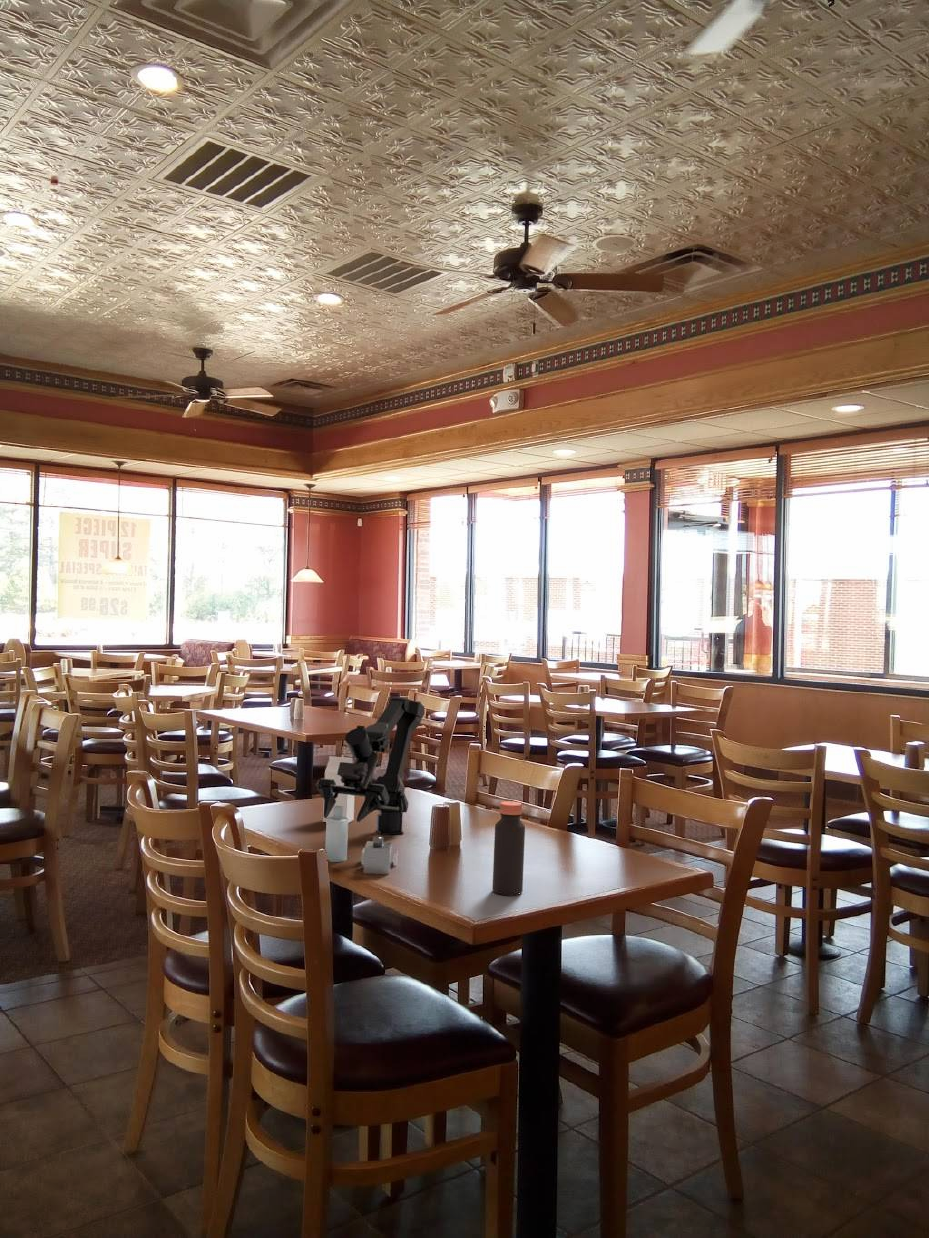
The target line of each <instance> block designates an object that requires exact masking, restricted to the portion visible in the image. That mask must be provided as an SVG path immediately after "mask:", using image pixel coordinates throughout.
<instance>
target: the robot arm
mask: <svg viewBox="0 0 929 1238" xmlns="http://www.w3.org/2000/svg"><path fill="white" fill-rule="evenodd" d="M425 712H426V711H425V706H424V705H423V704H422V702H421V701H417V700H410V698H406V697H401V696H392V697H390V698H389V700H388V704H387V706H386V707H385V708H384V710H383V712H382V713H381V715H380V716H379V717H378V719H377V721H376V722H375V723H373V724H370V725H367V726H366V727H365V725H357V726H356V728H353V729H351V730H349V732H347V733H346V734H345V736H344V737H345V738H344V740H345V743H346V746H347V747H348V750H349V753H350V755H351V756H352V758H354V761H353V763H345V762H340V764H339V768H338V772H337V775H340V776H341V777H342V778H341V782H342V783H344V786H341V785H336V783H335V781H334V780H333V779H325V777H323V778H322V777H321V778H320V779H318V781H317V783H316V784H315V787H316V789H317V791H318V792H319V795H320V796H321V798H322V799H323V805H324V818H327V816H328V815H329V813H330V812H331V810H332V808H333V806H334V805H335V803H336V800H335V799H336V798H337V796H338V793H340V794H348V795H352V796H355V797H362V798H364V799H363V803H362V805H361V808H360V809H359V811H358V814H357V817H356V821H357V823H360V822H361V821H362V820H364V819H365V818H366V817H367V816H368V815H370V814H371V813H373V812H374V811H378V814H376V822H375V829H376V831H377V832H378V833H379V834H380V835H404V831H403V814H404V813H407V812H408V809H409V800H408V797H407V796H406V794H405V790H406V788H405V785H404V781H403V779H402V778H403V772H404V769H405V765H406V762H407V757H408V752H409V750H410V745H411V741H412V737H413V736H412V735H413V732H415V730H417V728H419V726H420V725H421V723H422V719H423V718H424V716H425ZM395 727H396V728H395ZM394 729H396V730H395V732H394V736H393V737H394V738H393V741H392V745H391V737H390V735H391V733H392V731H393V730H394ZM390 745H391V749H390V753H389V757H388V761H387V766H386V769H385V773H384V774H383V775H382V776H378V777H377V778H376V782H375V783H372V782H373V779H372V775H373V773H374V771H375V769H376V768H378V767H380V762H379V761H380V760H379V756H378V754H377V753H385V752H386V751H387V750H388V749H389V747H390ZM367 787H368V788H367Z"/></svg>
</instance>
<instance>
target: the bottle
mask: <svg viewBox="0 0 929 1238" xmlns="http://www.w3.org/2000/svg"><path fill="white" fill-rule="evenodd" d="M522 808H523V804H522V803H521V802H518V801H511V800H510V801H509V800H508V801H505V800H504V801H501V802H500V803H499V816H500V819H499V820H498V821H497V822H496V823H495V825H494V846H493V863H492V864H493V868H492V870H493V871H492V872H493V873H492V888H491V889H492V892H493V893H494V892H495V893H494V894H496V893H497V895H499V894H500V895H499V896H505V895H515V894H519V893H521V892H522V893H523V888H524V887H523V884H524V883H523V882H524V866H525V865H524V863H525V862H524V861H525V859H524V858H525V841H526V840H525V836H526V826H525V824H524V823H523V822H522V821H521V817H522V813H523V812H522ZM522 893H521V894H522ZM519 895H520V894H519ZM515 896H516V895H515Z"/></svg>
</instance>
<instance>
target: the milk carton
mask: <svg viewBox="0 0 929 1238" xmlns="http://www.w3.org/2000/svg"><path fill="white" fill-rule="evenodd" d="M328 758H329V759H328V762H327V765H326V767H325V771H324V779H333V780H334V781H335V783H336V785H341V786H344V783H342V782H341V778H342V777H341V776H340V775H337V772H338V768H339V764H340V762H345V763H354V761H353V758H354V757H345V756H344V757H342V756H333V755H332V756H329V757H328ZM355 797H356V796H352V795H348V794H340V793H338V796H337V798H336V799H335V800H336V803H335V805H334V806H342V807H343V816H342V817H345V818H348V824H349V823H351V822H353V821H354V820H355V819H354V817H355V816H354V815H355ZM334 806H333V807H334ZM329 817H333V808H332V810H331V812H330V813H329V815H328V816H327V818H329ZM327 818H324V804H323V810H322V823H323V822H326V821H327Z"/></svg>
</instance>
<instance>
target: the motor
mask: <svg viewBox="0 0 929 1238" xmlns="http://www.w3.org/2000/svg"><path fill="white" fill-rule="evenodd" d="M392 846H393V842H392V841H384V836H382V835H381V836H379V835H375V836H373V839H372V840H367V841H366V843H365V845H364V848H362V851H361V856H360V857H361V861H360V865H361V866H363V874H374V875H376V874H377V875H378V874H379V875H389V874H390V870H391V867H392V866H393V867H397V865H398V855H399V854H398V853H399V851H398V850H399V849H394V850H393V856H392ZM392 857H393V861H392Z"/></svg>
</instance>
